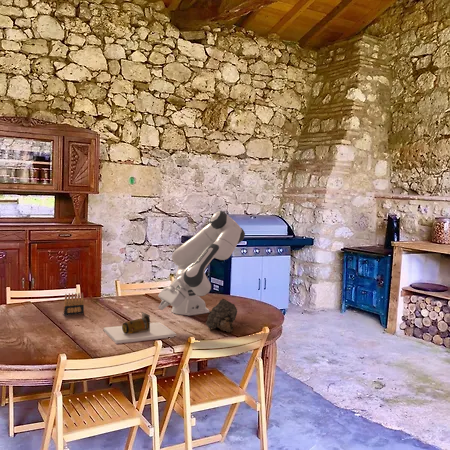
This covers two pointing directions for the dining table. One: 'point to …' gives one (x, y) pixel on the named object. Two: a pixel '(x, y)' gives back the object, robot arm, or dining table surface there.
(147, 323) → the condiment
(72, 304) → the ammunition clip
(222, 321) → the rock
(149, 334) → the tile board
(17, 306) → the dining table surface
